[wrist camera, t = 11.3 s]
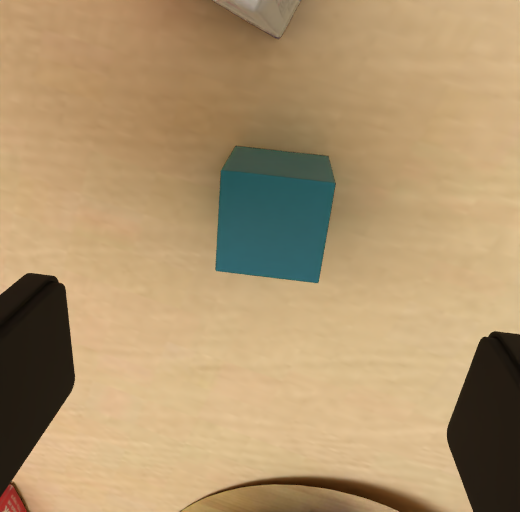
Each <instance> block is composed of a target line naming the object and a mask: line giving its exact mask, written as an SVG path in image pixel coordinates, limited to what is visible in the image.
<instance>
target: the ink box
mask: <svg viewBox="0 0 520 512" xmlns="http://www.w3.org/2000/svg"><path fill="white" fill-rule="evenodd" d="M0 512H27V511H26V509H25V507H24V505H23V503H22V501H21V499H20V497H19V496H18V494H17V492H16V490H15V488H14V486H12V485H11V484H9V485H8V487H7V488H6V490H5V491H4V493H3V494H2V496H1V497H0Z"/></svg>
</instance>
